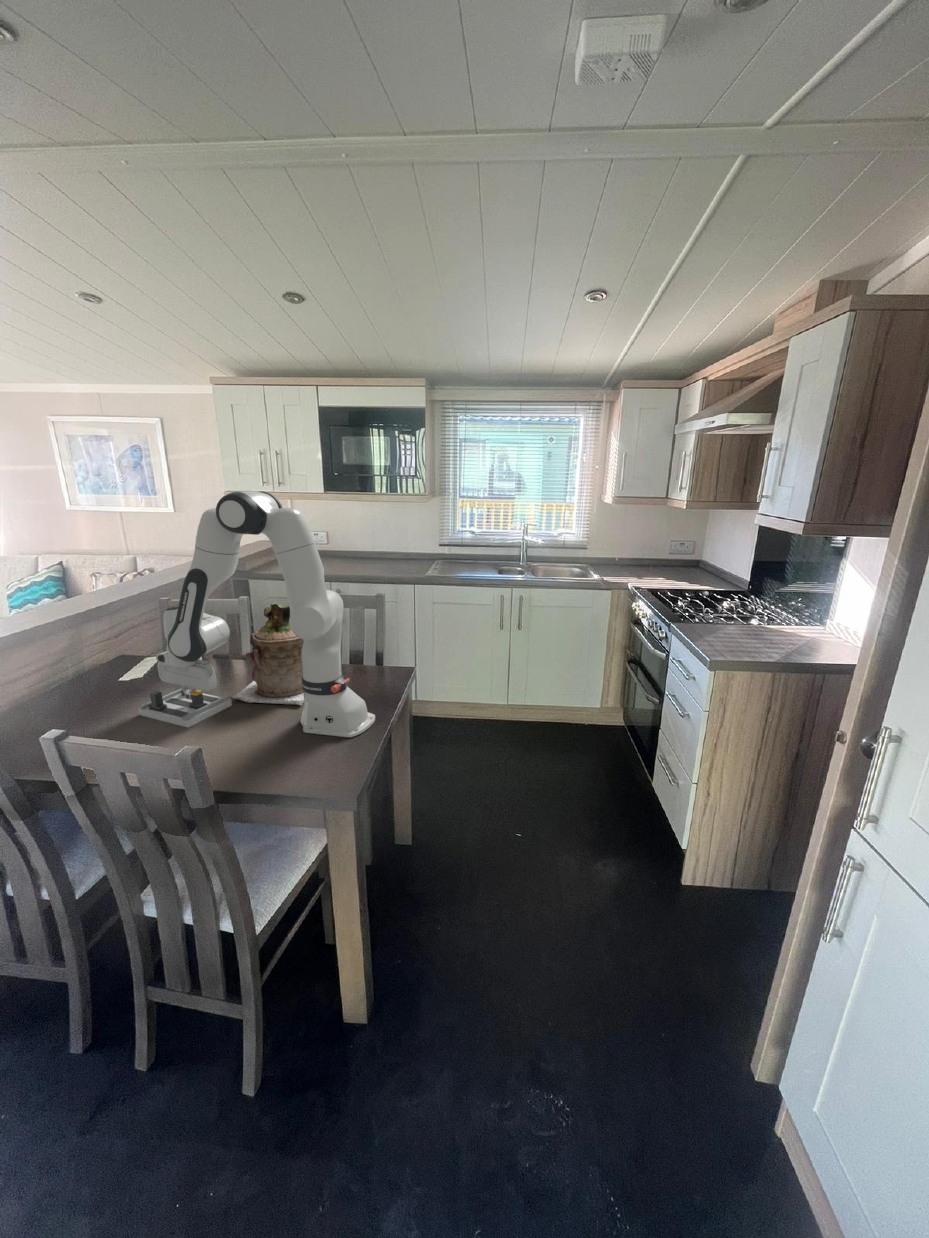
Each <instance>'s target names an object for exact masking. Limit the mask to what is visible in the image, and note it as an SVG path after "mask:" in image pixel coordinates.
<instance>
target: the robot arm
mask: <svg viewBox="0 0 929 1238" xmlns="http://www.w3.org/2000/svg"><path fill="white" fill-rule="evenodd" d="M196 530H197V531H196V536H195V544H194V551H193V557H192V560H191V564H190V567H189V568H188V569H189V570H188V572H187V573H186V576H185V578H184V581H183V584H182V588H181V593H180V597H179V603H178V605H174V606H170V607H168V608H166V610H165V611H164V613H163V617H162V618H163V620H162V622H163V624H162V625H163V634H164V637H165V639H166V643H167V645H166V651H163V652H160V653H157V654H156V655H155V658H156V662H157V672H158V677H159V679H160V680H161V681H162V682H165V683H169V684H173V685H176V686H180V689H182V691H183V693H184V694H185V698H186V699H190V700H192V697H191V692H193V691H195V690H201V691H202V692H207V693H208V692H209V693H210V692H211V691H213V690H215V689H216V688H217V687H218V680H217V676H216V672H215V670H214V667H213V665H211V664H210V663H209V661H207V660H203V656H205V655H207V654H208V653H211V652H212V651H214V650H216V649H217V648H219V647H222V646H223V645H224V644H226V643H227V642H228V641H230V637H231V628H230V625H229V624H228V622H227V621H226V620H225V619H224V618H222V617H220V616H217V615H212V614H208V613H206V612H205V608H206V603H207V602H208V601H207V600H208V598H209V597H210V595H211V594H212V593H213V592H214V590H216V589H217V588H218V587H219V586H220V585H221V584H223V583H224V582H225V581H227V580H228V579H229V578H231V577H232V576H233V575H234V574H235V572H236V569H237V566H238V563H239V559H240V558H239V557H240V549H241V540H242V537H243V535H252V536H253V535H256V536H258V535H260V534H262V535H265V536H266V537H267V538H268V539H269V542H270V544H271V547H272V549H273V551H274V554H275V555H274V556H275V557H276V560H277V563H278V565H279V569H280V571H281V574H282V577H283V580H284V584H285V587H286V597H287V600H288V606H289V608H290V620H289V624H290V628H291V630H292V632H293V633H294V634H295V635H296V636H297V637H299V638H301V639H304V642H303V648H302V652H301V656H302V670H303V676H302V690H303V691H304V702H303V703H302V704H303V705H302V713H301V716H300V720H299V721H300V724H301V726H302V732H303V733H306V734H316V735H323V736H324V735H325V736H332V737H333V736H334V737H341V738H353V737H356V736H358V735H361V734H362V733H364V732H365V731H366V730H368V729H369V728H370V727H372V725H374V723H375V721H376V714H373V713H371V712H368V707H367V704H366V701H365V700H364V699H363V698H362V697H361V696H359V695H358V694H357V693H356V692H354V691H353V690H352V689H351V688H350V687H349V686H348V683H350V679H351V678H350V677H348V678H346V679H345V676H344V673H343V672H342V659H341V658H342V655H341V645H342V633H343V620H344V619H343V617H344V616H343V614H344V600H343V598H342V596H341V595H340V594H339V593H338V592H336V591H334V590H330V589H327V588H326V583H325V568H324V566H323V562H322V559H321V555H320V554H319V550H318V548H317V544H316V543H315V539H314V537H313V534H312V532H311V529H310V527H309V525H308V523H307V522H306V519H305V518H304V516H303V513H301V512H300V511H299V510H298V509H297V508H294V507H293V508H292V507H283V505H282V504H281V502H280V500H279V499H278V498H277V497H276V496H274V495H273V494H271V493H269V492H266V491H261V490H260V491H259V490H258V491H254V490H242V491H241V490H240V491H234V492H230V493H228V494H227V493H226V494H225V495H224V496H222V497H221V498H220V499H219V500H218V502H217V504H216V507H214V508H209V509H206V510H205V511H203V513H202V514H201V517H200V520H199V523H198V527H197V529H196Z"/></svg>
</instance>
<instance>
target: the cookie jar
mask: <svg viewBox="0 0 929 1238" xmlns="http://www.w3.org/2000/svg"><path fill="white" fill-rule="evenodd" d="M263 616H264V617H266V618H267V619H268V620H267V621H266V622H265V625H263V626H261V627H260V628H259V629H258V630H257V631H255V632H252V633H251V634H250V641H249V643H250V645H251V646H252V652H251V651H250V652H246V653H245V659H246V660H247V661H248V663H249V664H250V665H251V666H252V674H251V678H252V679H253V681H252V682H250V683H249V684H248V685H247V686H245V687H244V688H242V689H241V691H239V692H237V693H235V694H233V695H232V697H231V698H233V699H236V700H240V701H242V702H245V703H247V704H248V703H252V704H253V703H260V704H280V705H281V704H282V705H297V706H301V707H303V702H304V691H303V690H302V676H303V670H302V656H301V652H302V648H303V642H304V639H301V638H299V637H297V636H296V635H295V634H294V633H293V632H292V630H291V628H290V624H289V620H290V608H289V604H288V605H287V604H283V603H278V602H277V603H276V602H271V603H270V606H265V607H264V609H263Z"/></svg>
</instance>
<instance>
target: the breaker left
mask: <svg viewBox="0 0 929 1238" xmlns="http://www.w3.org/2000/svg"><path fill="white" fill-rule="evenodd" d="M162 693H163V692H162V691H159V690H156V691H153V692H151V693H149V696H150V702H151V703H152V704H149V707H150V708H154V709H158V710H162V709H164V708H167V705H166V704H163V699H162V696H163V694H162Z"/></svg>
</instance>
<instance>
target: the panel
mask: <svg viewBox="0 0 929 1238" xmlns="http://www.w3.org/2000/svg"><path fill="white" fill-rule="evenodd" d="M181 691H182V689H181V688H179V689H177V690H174V691H172V692H170V693H167V694H165V695H162V699H163V704H166V705H167V708H164V709H162V710H158V709H154V708H150V707H149V704H152V703H151V701H149V702H145V703H144V704H141V705H139V709H138V712H139V715H140V716H142V717H146V718H150V719H153V720H157V721H161V722H164V723H169V724H172V725H176V726H181V727H185V728H190V727H192V726H194V725H196V724H198V723H200V722H202V721H204V720H206V719H209V718H210V717H212V716H214V715H216V714H218V713H220V712H222V711H224V710H225V709H228V708H231V707H232V706H233V701H232V699H231V698H230V695H224V696H223V697H221V696H217V695H213V694H207V693H203V692H202V695H203V702H204V703H207V705H206V706H204V707H201V708H197V707H192V706H189V703H191V702H192V700H190V699H186V698H185V694H182V693H181Z"/></svg>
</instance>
